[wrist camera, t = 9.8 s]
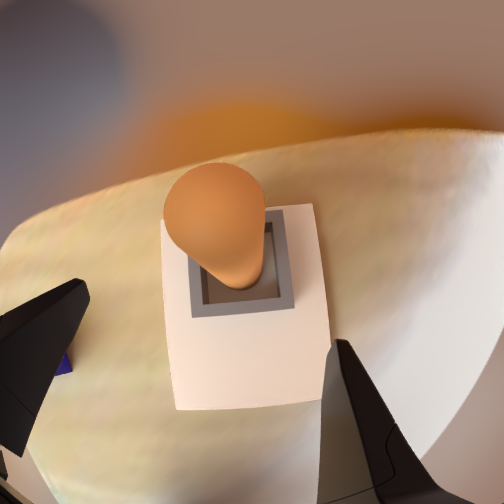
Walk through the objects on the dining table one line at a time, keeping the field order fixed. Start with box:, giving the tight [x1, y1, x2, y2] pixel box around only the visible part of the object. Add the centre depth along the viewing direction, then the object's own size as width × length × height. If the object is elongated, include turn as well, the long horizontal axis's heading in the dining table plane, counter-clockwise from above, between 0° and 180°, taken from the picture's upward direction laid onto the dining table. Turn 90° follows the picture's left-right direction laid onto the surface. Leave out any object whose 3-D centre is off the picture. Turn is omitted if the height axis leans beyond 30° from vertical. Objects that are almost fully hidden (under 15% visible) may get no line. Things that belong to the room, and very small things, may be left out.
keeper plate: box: [161, 203, 331, 410], centre depth 20 cm, size 15×12×4 cm
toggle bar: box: [164, 163, 265, 291], centre depth 15 cm, size 3×3×12 cm
